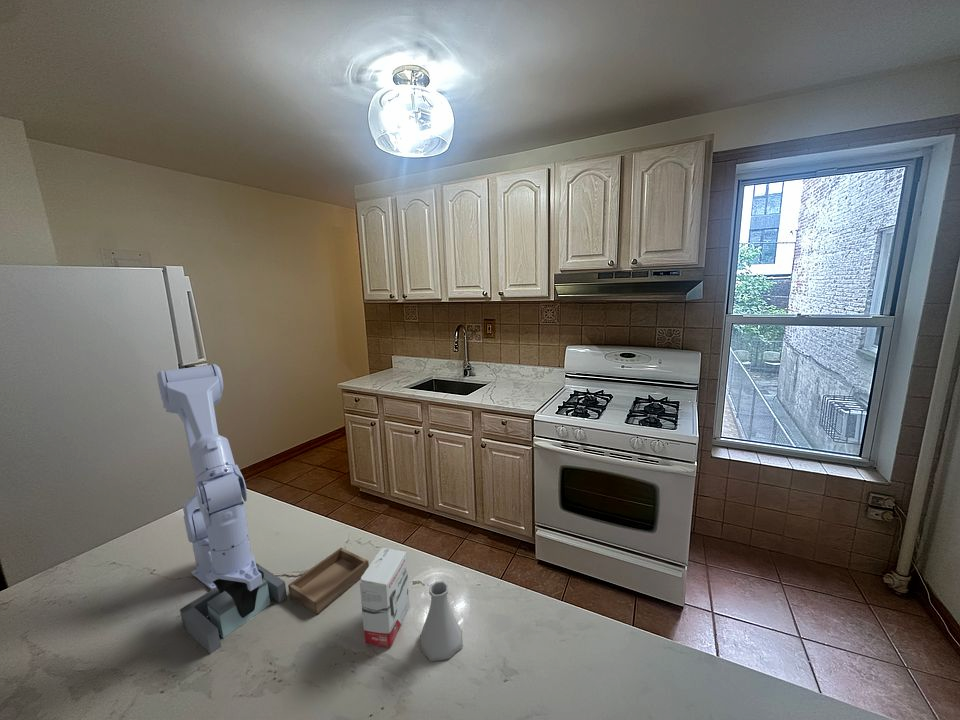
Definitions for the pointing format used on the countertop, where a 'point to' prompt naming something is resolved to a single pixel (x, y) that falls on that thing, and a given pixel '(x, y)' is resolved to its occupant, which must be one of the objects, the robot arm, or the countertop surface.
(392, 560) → the ink box
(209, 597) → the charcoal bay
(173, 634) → the countertop surface
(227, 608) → the pale grey block
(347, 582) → the walnut tray
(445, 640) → the flask
